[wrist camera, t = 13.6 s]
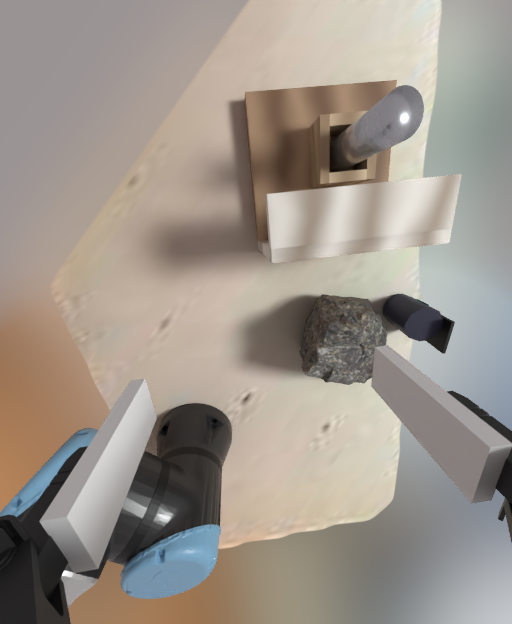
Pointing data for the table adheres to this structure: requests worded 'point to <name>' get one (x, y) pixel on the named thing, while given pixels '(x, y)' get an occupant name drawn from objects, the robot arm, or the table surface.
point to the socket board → (334, 180)
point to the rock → (341, 340)
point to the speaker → (419, 320)
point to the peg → (378, 128)
